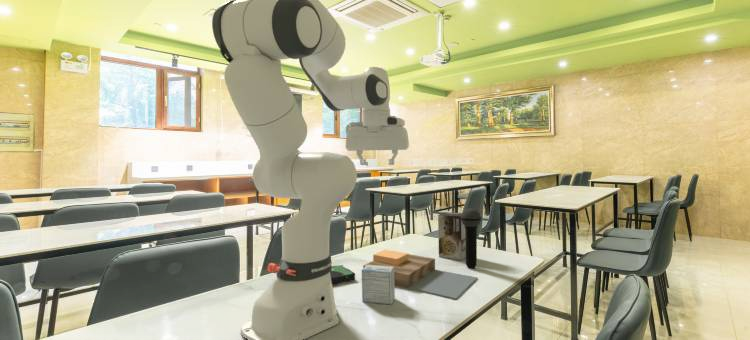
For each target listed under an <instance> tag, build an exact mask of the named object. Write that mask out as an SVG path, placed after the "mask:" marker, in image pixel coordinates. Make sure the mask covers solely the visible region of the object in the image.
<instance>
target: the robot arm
mask: <svg viewBox="0 0 750 340" xmlns="http://www.w3.org/2000/svg"><path fill="white" fill-rule="evenodd" d="M211 23H212V24H211V27H212V33H213V37H214V39H215V42H216V45H217V46H218V48H219V50H220V51H219V52H220V54H221V56H222V57H223V59H224V60H225V61H226V62H228V64H227V65H226V68H225V69H224V73H223V75H224V76H223V77H224V81H225V85H226V88H227V91H228V93H229V96H230V98H231V100H232V103H233V105H234V107H235V110H236V111H237V113H238V115H239V117H240V118H241V120H242V122H243V123H244V126H246V128H247V130H248V132H249V134H250V136H251V137H252V139H253V140H254V143H255V145H256V146H257V149H258V151H259V155H260V156H259V159H258V160H257V162H256V163H255V164H254V167H253V170H252V171H253V172H252V179H253V180H252V181H253V183H254V184H253V185H254V187H255V188H256V190H257V191H258V192H259V193H260V194H262V195H266V196H268V197H272V198H277V199H287V200H288V199H294V200H301V204H300V205H301V206H300V209H299V211H298V213H296V214H294V215H292V216H291V217H289V218H288V219H287V220H286V221H285V222H284V224H283V225H282V228H281V255H282V256H281V258H280V261H279V263H274V262H270V263H268V266H267V271H268V272H269V273H273V274H276V277H275V278H274V279H273V280H272V281H271V283H270V284H269V285H268V286H267V288H266V289H265V290H264V291H263V292H262V293H261V294H260V295H259V297H257V299H256V300H255V301H254V302H253V303H254V304H253V307H252V314H251V320H249V321H247V322H246V323H244V324H243V325H241V327H240V334H241V333H242V334H241V336H242V335H243V336H244V337H246V338H247V339H249V340H303V339H304V340H306V339H308V338H310V337H312V336H314V335H317V334H319V333H321V332H324V331H325V330H328V329H330V328H332V327H334V326H337V325H338V324H339V323H340V320H339V316H338V308H337V305H336V301H335V294H334V288H333V287H334V285H332V281H331V276H330V271H331V269H332V255H331V253H330V230H331V228H330V227H331V222H332V219H333V215H334V214H335V213H334V212H335V211H336V209H337V207H338V206H339V205H340V204H341V202H342V201H344V199H346V198H347V197H348V196H350V194H351V193H352V192H353V191H354V188H355V186H356V183H357V179H358V178H357V177H358V172H357V168H356V166H355V163H354V162H353V160H352V159H351V158H350V157H349V156H348V155H345V154H339V153H334V152H321V151H320V152H302V151H300V150H299V148H300V147H301V146H302V145H303V144H304V143H305V142H306V138H307V136H308V125H307V121H306V120H305V117H304V115H303V113H302V111H301V109H300V107H299V105H298V102H297V101H296V98H295V95H294V94H293V92H292V89H291V88H290V86H289V85H288V82H287V81H286V79H285V78H284V75H283V72H282V63H281V62H282V61H281V60H288V59H292V60H298V61H299V65H300V67H301V69H302V71H303V72H304V74H305V75H306V77H307V78H308V79H309V81H310V82H311V83H312V85H313V86H314V87H315V88H316V91H318V93H319V95H320V96H321V97H322V100H323V102H324V103H325V105H326V107H328V108H329V109H330V110H331V111H333V112H339V111H344V110H354V109H355V110H356V109H362V117H361V118H362V121H357V122H353V121H352V122H349V123H347V125H346V126H345V134H346V137H345V138H346V139H345V148H346V150H347V151H348V152H351V151H352V152H356V156H357V158H358V159H359V165H360V166H366V165H367V162H366V161H367V159H365V158H363V156H362V155H363V151H391V154H392V157H391V158H389V159H388V166H389V165H390V166H393V165H395V159H396V158H397V156H398V154H399V153H398V151H405V150H408V148H409V147H410V141H409V135H408V134H409V133H408V130H407V128H405V127H404V126H405V125H406V121H405V120H404V119H403V118H400V117H397V116H394V115H391V109H390V100H391V90H390V89H391V88H390V87H391V86H390V80H389V74H388V72H387V70H386V69H384V68H382V67H377V66H369V67H367V68H365V69H364V71H363V73H360V74H355V75H345V76H334V75H332V74H331V73H330V71H329V69H332V68H334V66H336V65H337V64H338V63H339V62H340V60H341V59H342V57H343V55H344V52H345V49H346V37H345V34H344V31H343V29H342V26H341V25H340V24H339V23H338V21H337V19H335V17H334V16H333V15H332V13H331V12H330V11H329V10H328V9H327V8H326V6H325V5H324V4H323V3H322V2H321V1H320V0H229V1H228V2H225V3H223V4H221V5H220V6H218V7H217V8H216V9H215V11H214V12H213V15H212V20H211ZM243 336H242V337H243ZM244 337H243V338H244Z"/></svg>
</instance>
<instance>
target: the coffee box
mask: <svg viewBox="0 0 750 340" xmlns="http://www.w3.org/2000/svg"><path fill="white" fill-rule="evenodd" d="M462 213H463V212H449V211H447V212H446V211H443V212H441V213H439V214H437V225H438V227H437V230H438V258H443V259H444V258H445V259H451V260H460V261H463V260H464V259H465V230H466V229H465V225H464V224H463V223H462V221H461V215H462Z"/></svg>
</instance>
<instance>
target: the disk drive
mask: <svg viewBox="0 0 750 340" xmlns="http://www.w3.org/2000/svg"><path fill="white" fill-rule="evenodd" d="M331 267H332V269H331V271H330V276H331V281H332V286H334V285H339V284H343V283H344V284H345V283H348V282H352V281H353V282H354V281H355V280H356V273H355V272H353V270H351V269H349V268H347V267H345V266H344V265H343V264H341V265H339V264H338V265H331Z"/></svg>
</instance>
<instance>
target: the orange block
mask: <svg viewBox="0 0 750 340" xmlns="http://www.w3.org/2000/svg"><path fill="white" fill-rule="evenodd" d="M408 254H409V253H407V252H401V251H395V250H389V249H383V250H380V251H379V252H376V253H374V254H373V255H372V259H373V260H372V261H377V262H382V263H387V264H392V265H399V264H401V263H403V262H405V261H406V260H408Z"/></svg>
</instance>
